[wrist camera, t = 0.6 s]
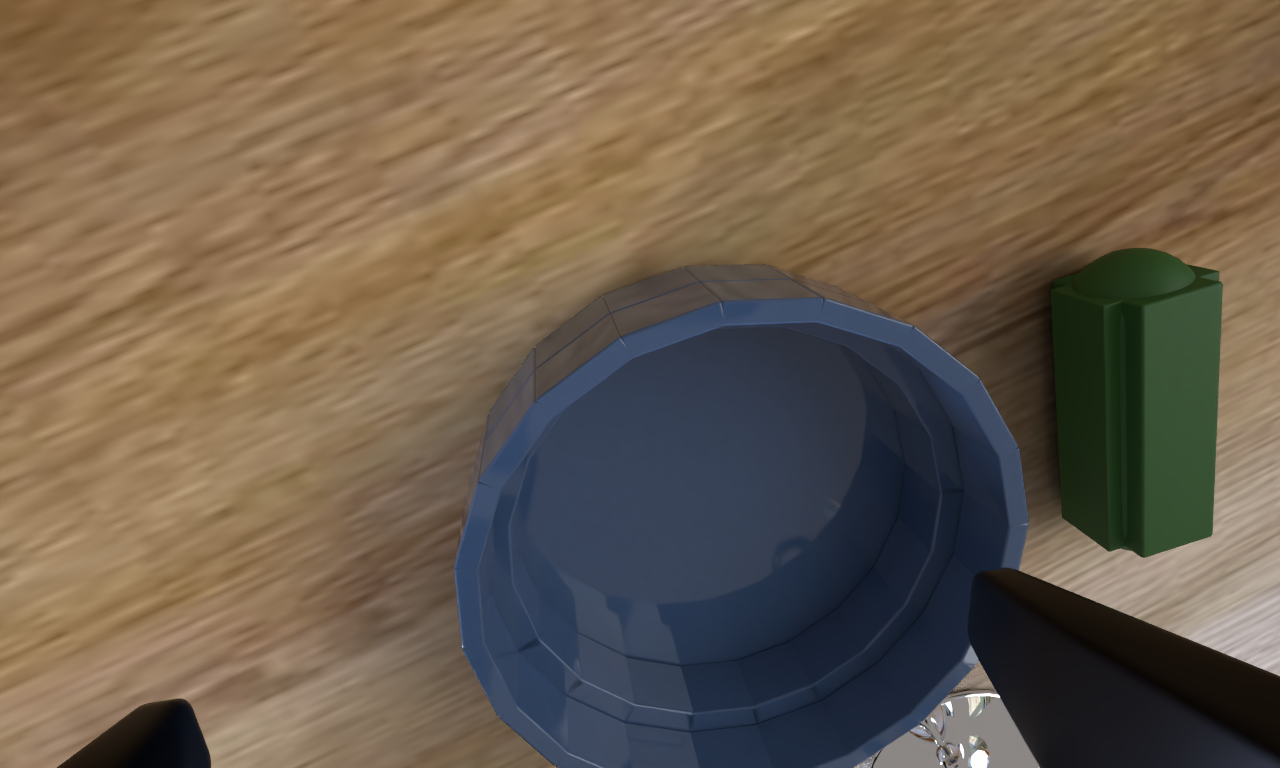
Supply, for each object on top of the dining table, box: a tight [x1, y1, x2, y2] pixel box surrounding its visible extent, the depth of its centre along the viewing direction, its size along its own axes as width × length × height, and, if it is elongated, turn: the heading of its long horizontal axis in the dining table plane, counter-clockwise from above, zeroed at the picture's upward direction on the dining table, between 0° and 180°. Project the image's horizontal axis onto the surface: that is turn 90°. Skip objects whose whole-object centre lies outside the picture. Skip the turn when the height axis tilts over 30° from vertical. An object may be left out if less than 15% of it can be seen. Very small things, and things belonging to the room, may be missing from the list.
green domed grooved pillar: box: [1051, 248, 1223, 558], centre depth 22 cm, size 10×4×4 cm, turn 15°
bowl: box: [454, 264, 1029, 768], centre depth 21 cm, size 15×15×5 cm
